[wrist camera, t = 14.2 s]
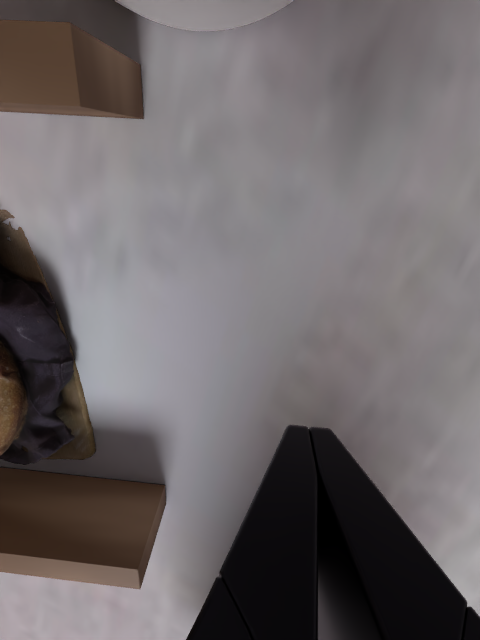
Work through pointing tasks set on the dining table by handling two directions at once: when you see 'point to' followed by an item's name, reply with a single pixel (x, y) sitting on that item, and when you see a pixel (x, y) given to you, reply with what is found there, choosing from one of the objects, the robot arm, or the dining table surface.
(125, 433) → the dining table surface
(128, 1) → the pill bottle
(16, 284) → the bread roll
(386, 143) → the dining table surface
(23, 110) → the tray
